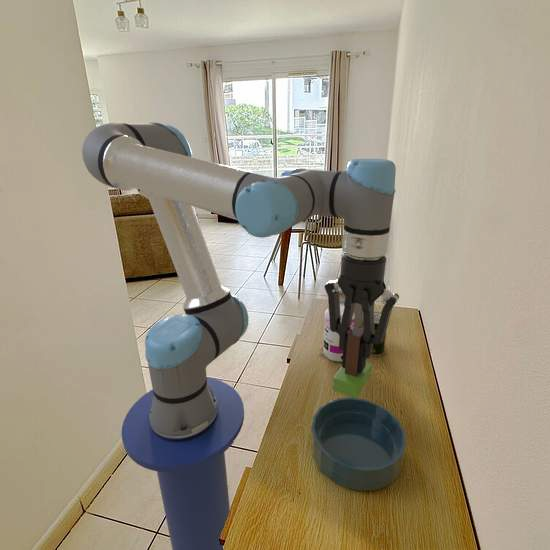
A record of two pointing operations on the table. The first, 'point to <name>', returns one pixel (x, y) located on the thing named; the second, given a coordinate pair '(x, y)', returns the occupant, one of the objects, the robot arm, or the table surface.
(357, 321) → the coffee mug
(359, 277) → the robot arm
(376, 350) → the beer can
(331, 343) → the supplement can
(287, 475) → the table surface
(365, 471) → the bowl
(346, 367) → the sponge brush
